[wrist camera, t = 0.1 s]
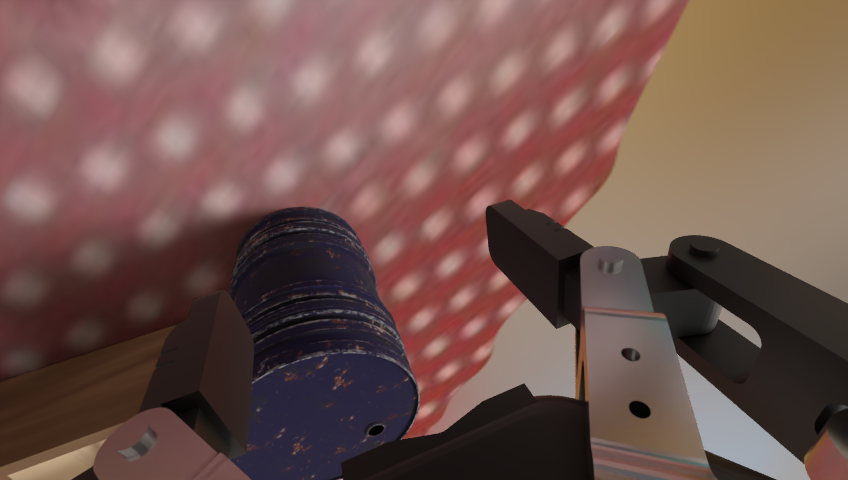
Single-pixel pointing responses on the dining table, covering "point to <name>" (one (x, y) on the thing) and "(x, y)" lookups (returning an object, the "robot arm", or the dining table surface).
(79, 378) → the peg box
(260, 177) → the dining table surface
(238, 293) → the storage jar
